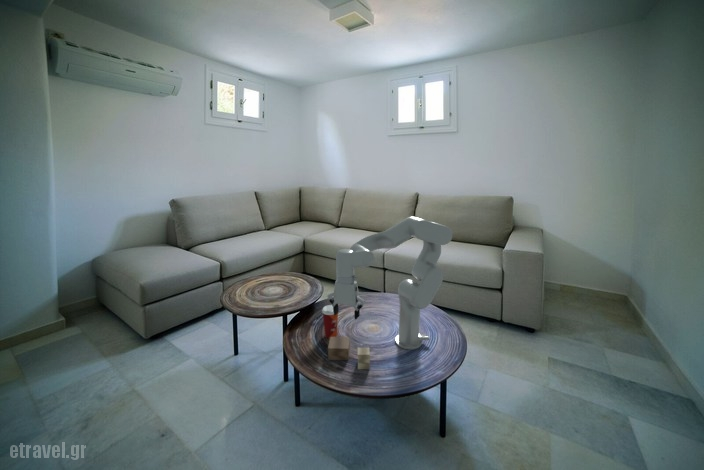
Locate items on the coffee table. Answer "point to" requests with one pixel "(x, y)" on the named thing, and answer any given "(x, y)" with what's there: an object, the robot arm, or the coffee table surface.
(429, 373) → the coffee table surface
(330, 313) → the coffee cup
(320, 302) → the coffee table surface
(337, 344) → the tan wooden cube
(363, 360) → the oak block
